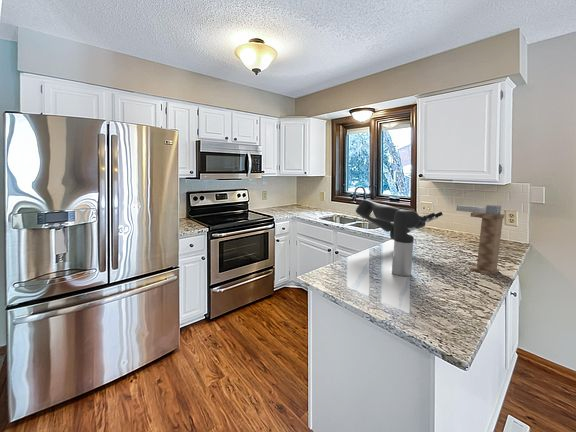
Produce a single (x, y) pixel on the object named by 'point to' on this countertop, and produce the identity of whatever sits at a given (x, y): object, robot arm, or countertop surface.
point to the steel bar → (481, 209)
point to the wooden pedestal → (488, 243)
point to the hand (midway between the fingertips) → (438, 213)
